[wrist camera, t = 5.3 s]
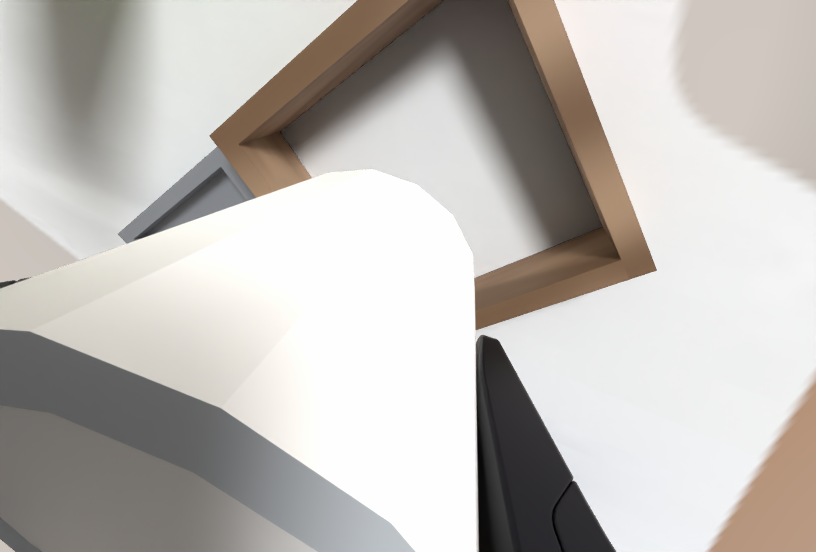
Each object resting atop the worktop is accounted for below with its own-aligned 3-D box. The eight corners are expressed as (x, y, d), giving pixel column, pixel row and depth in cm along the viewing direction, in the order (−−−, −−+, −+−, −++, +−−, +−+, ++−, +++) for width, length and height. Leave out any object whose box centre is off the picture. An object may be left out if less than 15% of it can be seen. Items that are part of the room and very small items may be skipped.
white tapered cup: (271, 343, 12) (48, 604, 6) (235, 124, 9) (-349, 249, 3) (477, 391, 11) (439, 763, 5) (531, 159, 8) (610, 505, 2)
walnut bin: (632, 235, 17) (656, 270, 15) (396, 324, 24) (380, 361, 21) (504, -89, 13) (503, -133, 10) (255, 124, 19) (209, 135, 16)
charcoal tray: (378, 331, 24) (370, 346, 23) (269, 372, 29) (259, 386, 28) (237, 139, 20) (219, 145, 19) (137, 225, 25) (117, 234, 23)
